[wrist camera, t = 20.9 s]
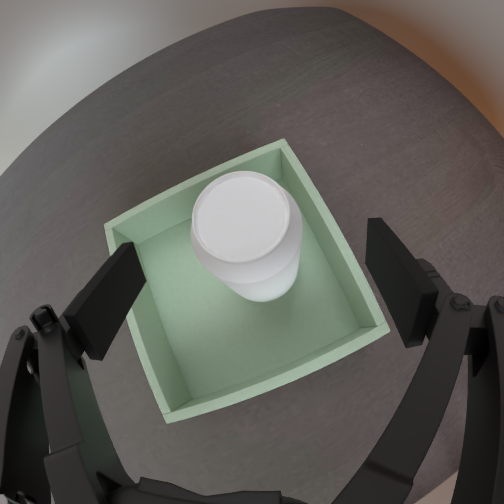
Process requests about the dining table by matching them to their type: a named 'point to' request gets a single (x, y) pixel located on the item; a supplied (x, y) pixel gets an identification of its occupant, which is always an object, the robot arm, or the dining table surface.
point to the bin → (240, 298)
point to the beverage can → (248, 234)
